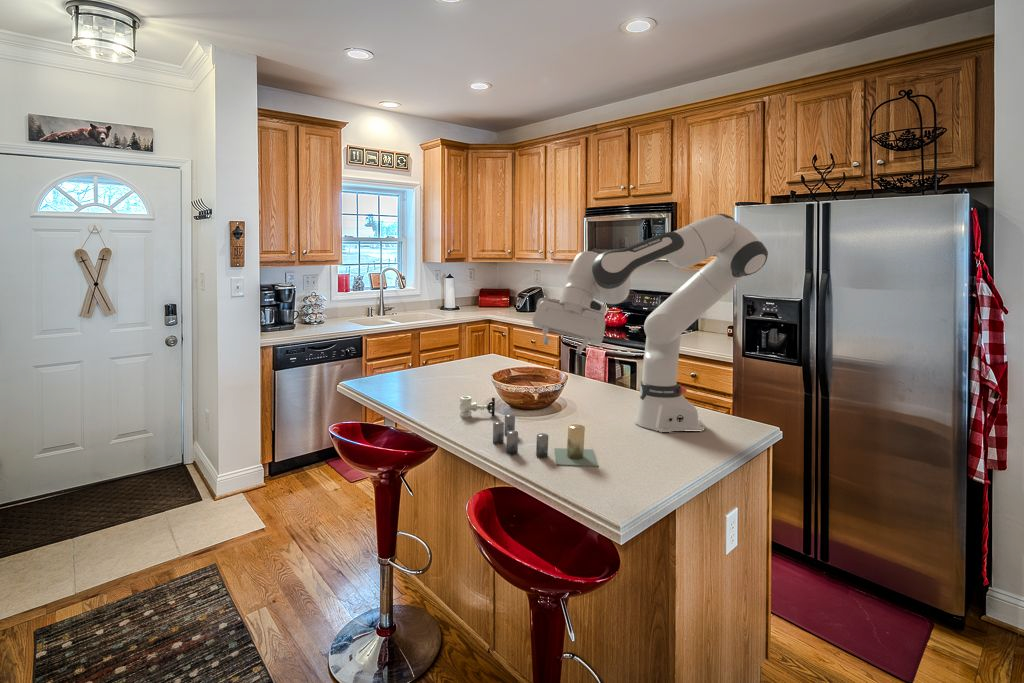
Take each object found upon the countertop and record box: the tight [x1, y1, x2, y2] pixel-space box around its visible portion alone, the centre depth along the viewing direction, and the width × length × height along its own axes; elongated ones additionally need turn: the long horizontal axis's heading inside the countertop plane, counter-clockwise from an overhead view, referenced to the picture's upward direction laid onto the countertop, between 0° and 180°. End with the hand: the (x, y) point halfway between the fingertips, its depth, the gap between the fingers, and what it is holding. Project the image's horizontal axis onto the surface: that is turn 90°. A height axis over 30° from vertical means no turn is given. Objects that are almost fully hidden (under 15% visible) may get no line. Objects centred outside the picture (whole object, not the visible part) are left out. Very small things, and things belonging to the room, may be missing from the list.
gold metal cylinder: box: [566, 423, 586, 460], centre depth 147 cm, size 4×4×8 cm
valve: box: [459, 395, 496, 418], centre depth 183 cm, size 7×7×12 cm
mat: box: [553, 447, 599, 468], centre depth 148 cm, size 11×12×1 cm
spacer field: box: [492, 413, 549, 459], centre depth 155 cm, size 10×23×6 cm, turn 27°
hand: (561, 348), depth 147 cm, fingers open, 8 cm apart
